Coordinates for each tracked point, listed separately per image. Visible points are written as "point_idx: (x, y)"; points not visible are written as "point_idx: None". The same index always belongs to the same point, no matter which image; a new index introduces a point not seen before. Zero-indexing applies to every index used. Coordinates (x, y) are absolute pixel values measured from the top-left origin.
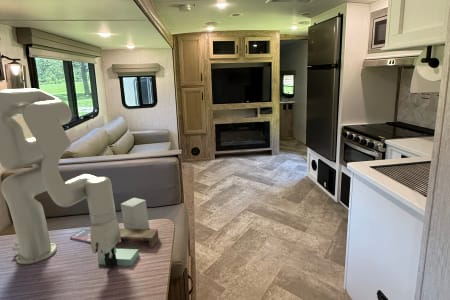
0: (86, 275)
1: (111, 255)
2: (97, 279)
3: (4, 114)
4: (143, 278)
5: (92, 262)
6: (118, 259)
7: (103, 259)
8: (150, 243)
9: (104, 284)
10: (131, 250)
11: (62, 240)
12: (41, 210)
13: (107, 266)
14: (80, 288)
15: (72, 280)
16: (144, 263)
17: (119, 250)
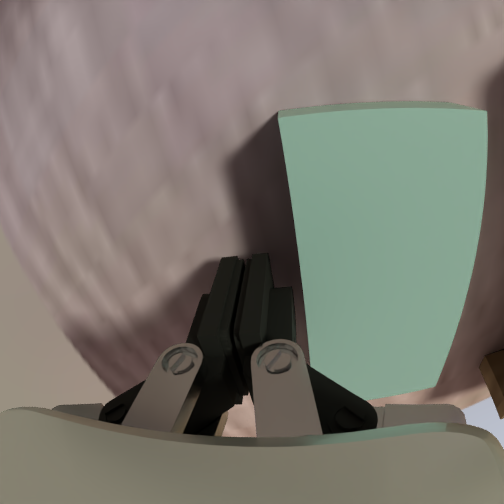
0: (110, 131)
1: (211, 420)
2: (115, 252)
3: None
4: (230, 429)
5: (289, 24)
6: (309, 340)
7: (291, 192)
8: (492, 381)
9: (111, 317)
10: (429, 363)
11: None
12: None
13: (206, 296)
14: (27, 209)
15: (42, 83)
16: None
17: (445, 280)
